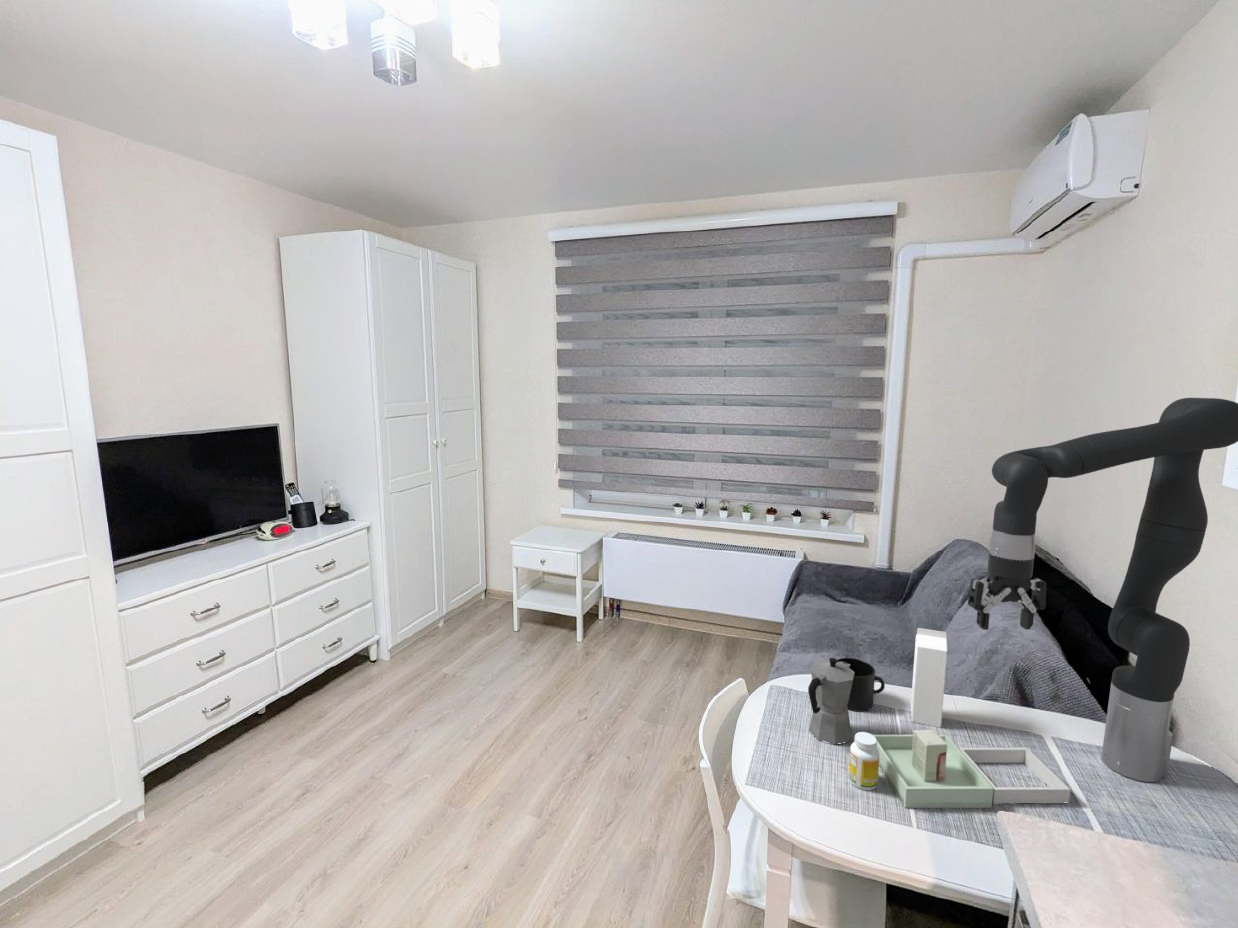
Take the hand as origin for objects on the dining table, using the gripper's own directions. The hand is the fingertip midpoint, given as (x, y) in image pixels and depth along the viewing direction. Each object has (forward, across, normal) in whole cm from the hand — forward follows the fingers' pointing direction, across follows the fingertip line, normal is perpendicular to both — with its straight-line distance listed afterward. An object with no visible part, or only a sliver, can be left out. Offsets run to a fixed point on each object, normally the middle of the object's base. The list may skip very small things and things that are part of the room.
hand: (1003, 628), depth 118 cm
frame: (+28, +2, +9) cm, 30 cm away
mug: (+28, +21, -19) cm, 40 cm away
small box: (+27, +18, +8) cm, 33 cm away
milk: (+28, +8, -12) cm, 32 cm away
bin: (+28, +18, +8) cm, 34 cm away
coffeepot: (+28, +33, -6) cm, 44 cm away
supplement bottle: (+28, +31, +9) cm, 43 cm away
